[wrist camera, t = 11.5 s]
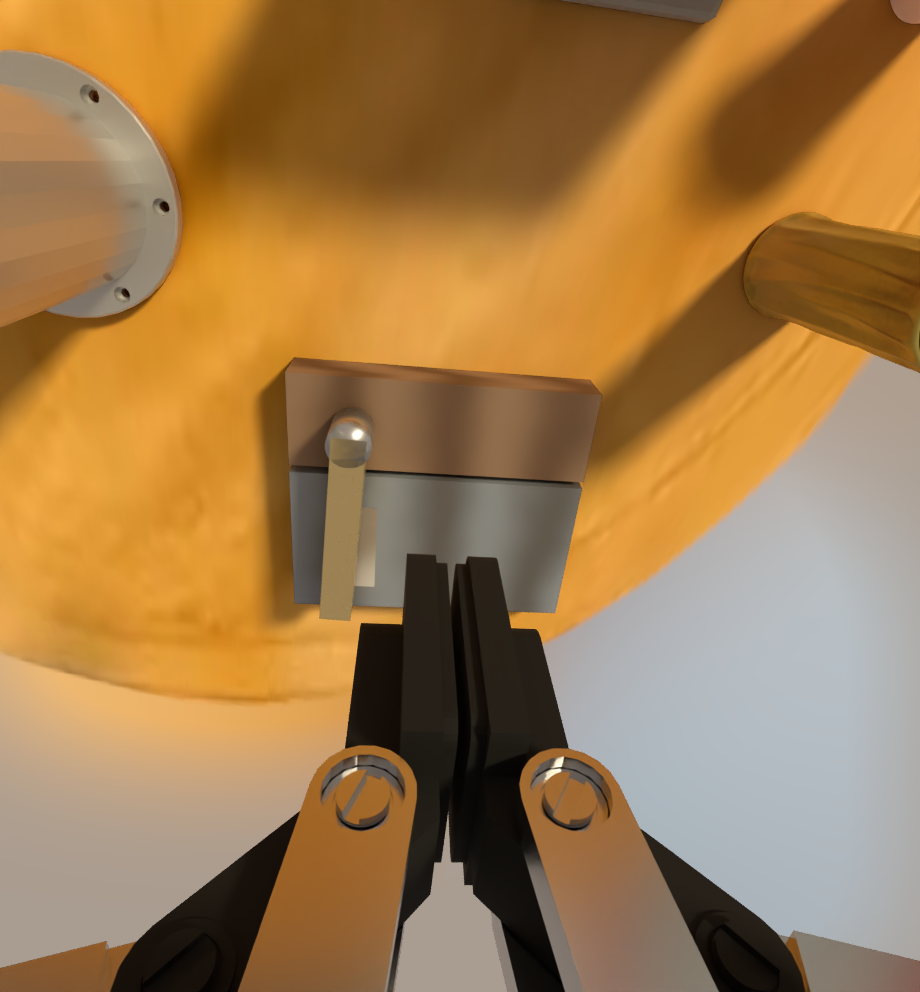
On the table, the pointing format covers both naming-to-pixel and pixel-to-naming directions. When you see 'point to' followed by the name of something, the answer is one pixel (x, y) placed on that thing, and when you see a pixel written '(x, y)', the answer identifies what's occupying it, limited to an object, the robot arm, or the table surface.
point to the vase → (840, 283)
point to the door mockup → (443, 474)
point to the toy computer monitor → (663, 8)
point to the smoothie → (907, 10)
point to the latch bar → (344, 508)
